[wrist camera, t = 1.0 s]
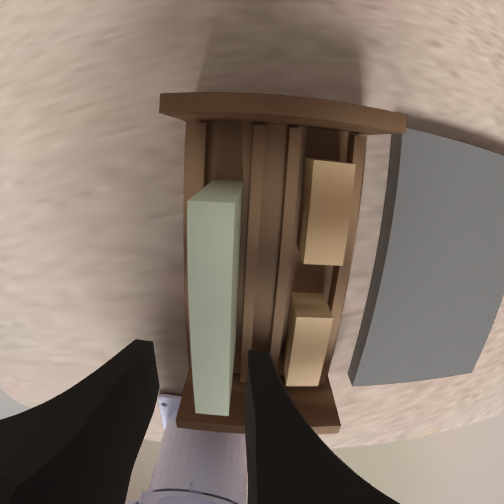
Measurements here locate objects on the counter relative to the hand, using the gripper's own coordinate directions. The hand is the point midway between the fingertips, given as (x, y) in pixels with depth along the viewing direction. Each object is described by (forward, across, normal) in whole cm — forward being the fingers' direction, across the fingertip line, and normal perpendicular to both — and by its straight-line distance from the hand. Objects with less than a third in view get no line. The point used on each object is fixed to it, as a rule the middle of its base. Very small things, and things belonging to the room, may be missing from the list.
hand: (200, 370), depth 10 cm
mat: (+10, -16, 0) cm, 19 cm away
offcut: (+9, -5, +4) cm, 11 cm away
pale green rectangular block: (+9, 0, 0) cm, 9 cm away
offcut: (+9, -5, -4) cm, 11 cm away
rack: (+10, -2, 0) cm, 11 cm away
